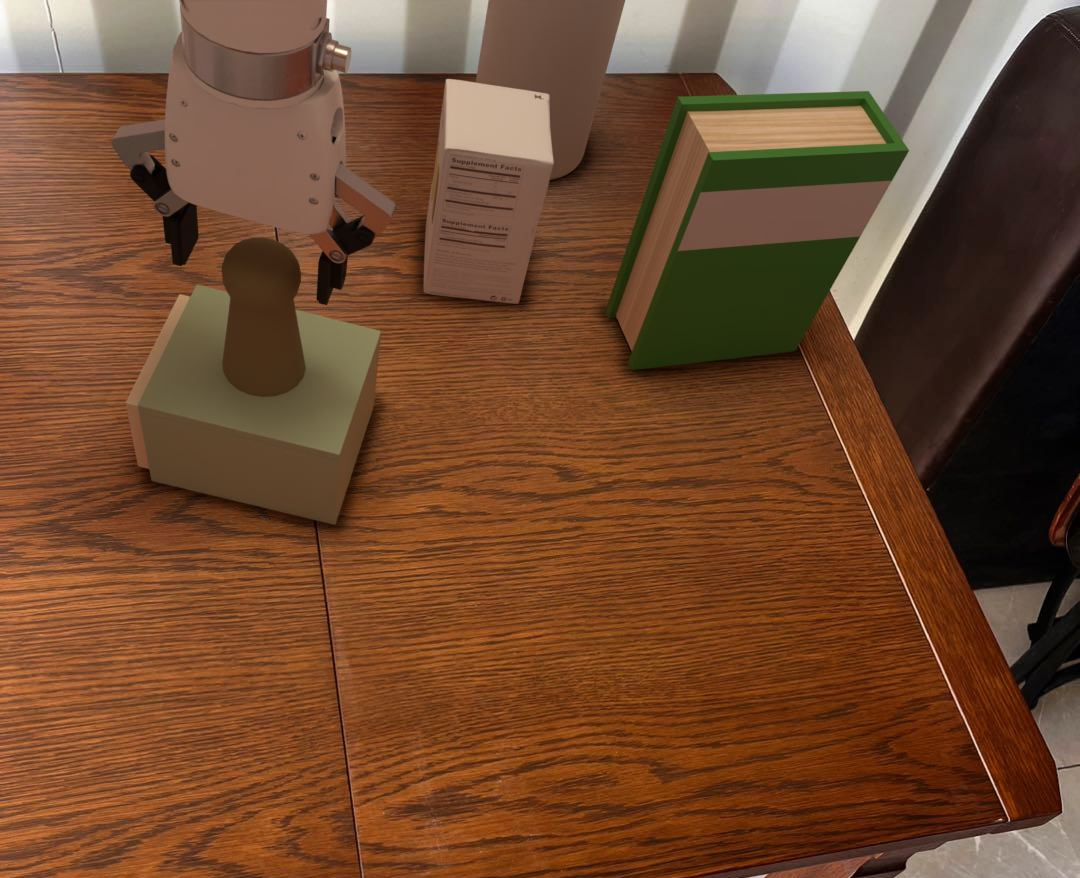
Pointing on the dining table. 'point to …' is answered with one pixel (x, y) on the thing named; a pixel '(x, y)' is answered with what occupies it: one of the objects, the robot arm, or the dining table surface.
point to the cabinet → (260, 415)
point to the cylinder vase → (553, 62)
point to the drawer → (146, 376)
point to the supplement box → (486, 190)
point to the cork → (262, 318)
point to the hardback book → (749, 222)
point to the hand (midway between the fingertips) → (257, 271)
